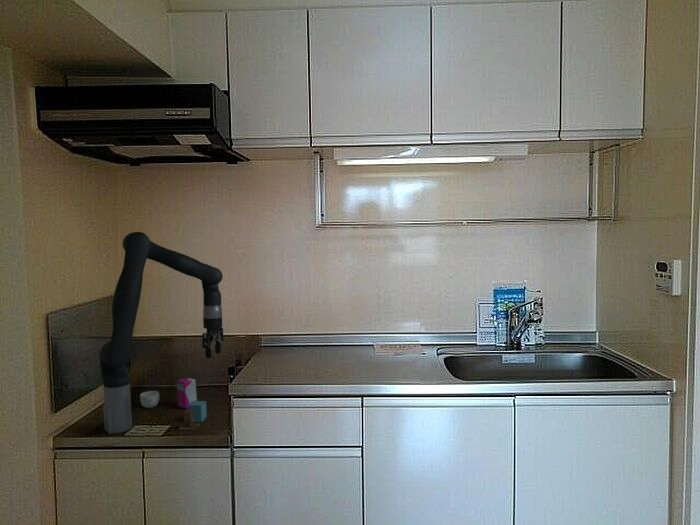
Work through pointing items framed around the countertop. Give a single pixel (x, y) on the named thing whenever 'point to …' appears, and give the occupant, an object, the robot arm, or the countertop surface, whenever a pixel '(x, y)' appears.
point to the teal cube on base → (198, 410)
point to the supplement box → (186, 392)
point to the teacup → (149, 399)
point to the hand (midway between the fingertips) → (213, 355)
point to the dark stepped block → (188, 421)
